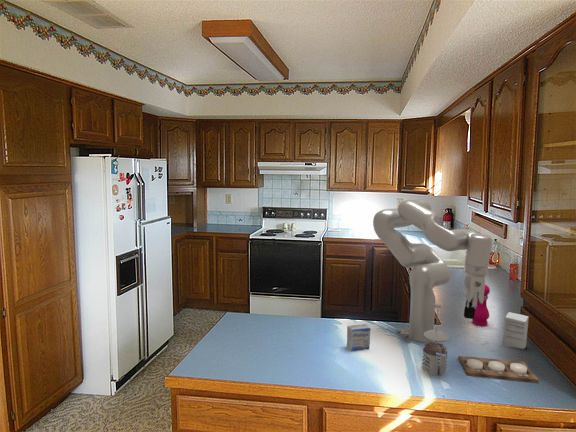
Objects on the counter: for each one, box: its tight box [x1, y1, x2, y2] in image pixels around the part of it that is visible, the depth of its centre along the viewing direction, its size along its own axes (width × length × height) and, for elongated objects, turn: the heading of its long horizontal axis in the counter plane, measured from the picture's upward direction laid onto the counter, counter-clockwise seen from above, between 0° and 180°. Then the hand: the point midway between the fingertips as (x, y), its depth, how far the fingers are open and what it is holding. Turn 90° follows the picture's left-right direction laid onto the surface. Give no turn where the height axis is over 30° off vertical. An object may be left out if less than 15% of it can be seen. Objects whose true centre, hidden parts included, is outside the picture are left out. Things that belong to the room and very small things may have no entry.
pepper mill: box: [471, 284, 491, 327], centre depth 181 cm, size 7×7×20 cm
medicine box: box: [346, 323, 371, 352], centre depth 157 cm, size 8×4×9 cm, turn 105°
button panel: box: [458, 355, 539, 384], centre depth 139 cm, size 22×12×3 cm, turn 80°
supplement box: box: [502, 311, 529, 350], centre depth 159 cm, size 7×7×13 cm
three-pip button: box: [466, 359, 484, 370], centre depth 140 cm, size 5×5×3 cm
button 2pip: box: [509, 363, 527, 374], centre depth 138 cm, size 5×5×3 cm
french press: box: [421, 303, 450, 376], centre depth 136 cm, size 10×12×25 cm
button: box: [487, 361, 505, 372], centre depth 139 cm, size 5×5×3 cm
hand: (468, 317), depth 145 cm, fingers closed
